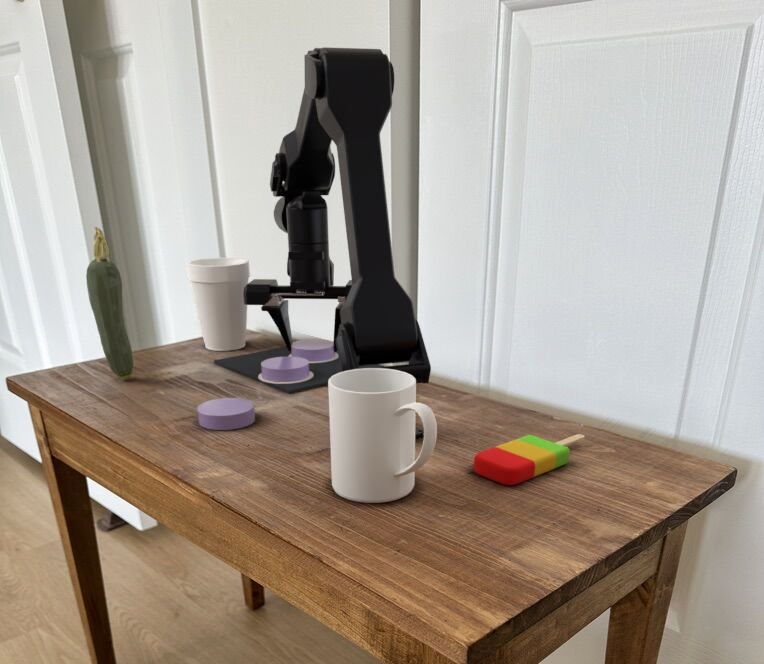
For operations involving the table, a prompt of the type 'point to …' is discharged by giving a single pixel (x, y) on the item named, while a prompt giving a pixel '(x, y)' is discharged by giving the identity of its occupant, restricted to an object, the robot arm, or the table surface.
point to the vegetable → (109, 308)
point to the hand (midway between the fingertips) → (313, 351)
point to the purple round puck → (285, 369)
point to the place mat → (252, 361)
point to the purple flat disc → (226, 413)
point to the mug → (376, 434)
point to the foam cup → (220, 300)
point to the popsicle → (523, 458)
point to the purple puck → (313, 349)
